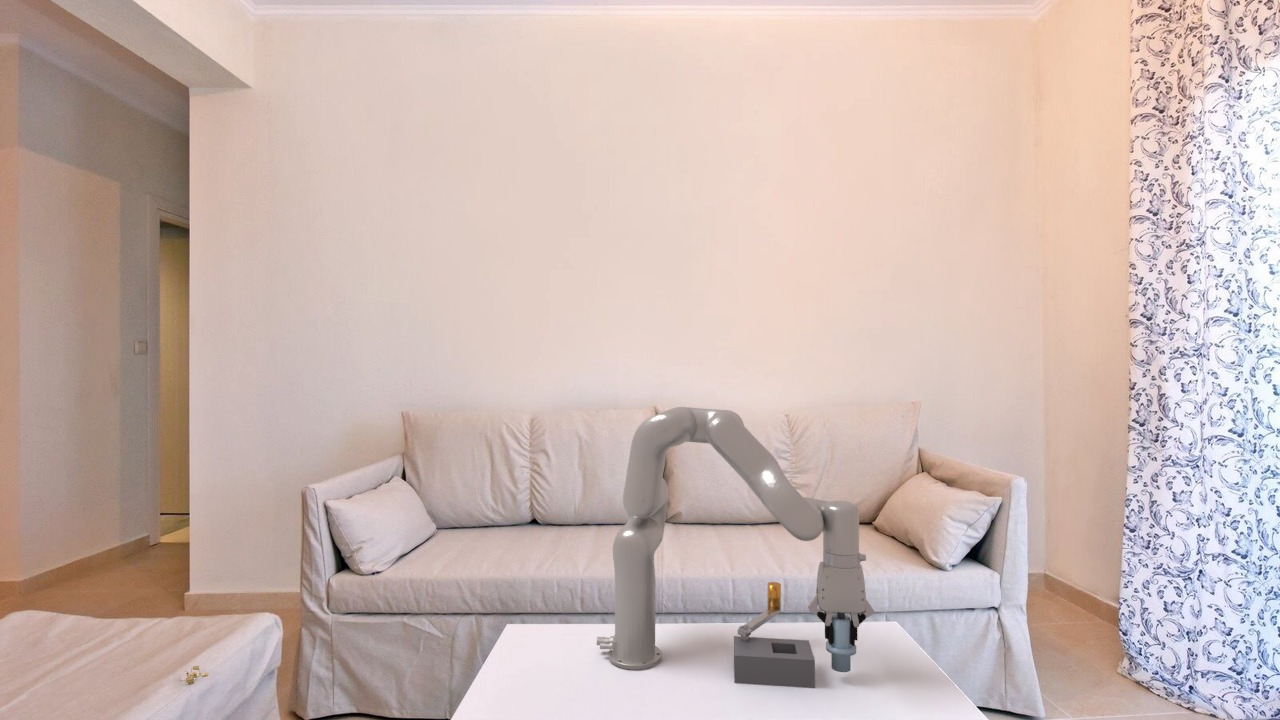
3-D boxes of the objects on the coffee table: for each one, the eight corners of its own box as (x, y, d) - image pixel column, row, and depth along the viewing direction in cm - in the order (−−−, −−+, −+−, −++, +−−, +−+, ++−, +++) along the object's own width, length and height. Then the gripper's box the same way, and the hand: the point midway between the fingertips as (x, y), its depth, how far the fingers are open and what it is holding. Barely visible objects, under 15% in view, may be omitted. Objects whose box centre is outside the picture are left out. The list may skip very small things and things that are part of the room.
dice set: (188, 688, 141) (188, 679, 141) (173, 683, 143) (173, 674, 143) (212, 678, 146) (212, 669, 146) (197, 673, 148) (197, 664, 148)
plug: (828, 674, 142) (828, 611, 142) (823, 660, 148) (823, 600, 148) (859, 675, 141) (859, 612, 141) (853, 662, 147) (853, 601, 147)
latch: (747, 637, 149) (748, 605, 149) (735, 633, 151) (735, 602, 151) (782, 612, 164) (783, 583, 164) (771, 609, 166) (771, 581, 166)
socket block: (734, 683, 143) (734, 649, 143) (733, 661, 153) (733, 630, 153) (814, 688, 141) (814, 654, 141) (808, 666, 151) (808, 635, 151)
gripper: (876, 555, 147) (876, 637, 147) (799, 552, 149) (799, 633, 149) (884, 565, 140) (884, 652, 140) (804, 562, 142) (804, 648, 142)
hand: (840, 641), depth 144 cm, fingers closed on plug, 4 cm apart
